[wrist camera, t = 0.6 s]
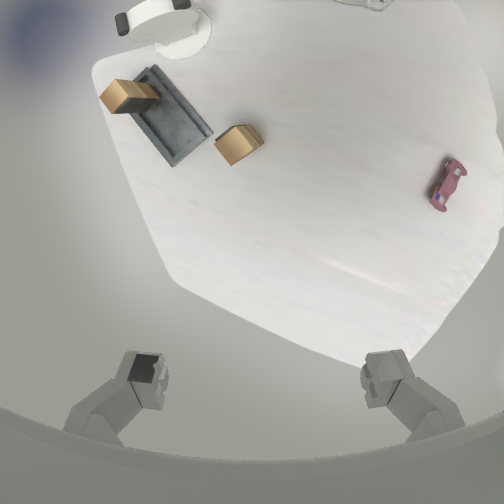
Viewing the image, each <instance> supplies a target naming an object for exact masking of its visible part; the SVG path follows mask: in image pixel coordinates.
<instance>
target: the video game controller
mask: <svg viewBox="0 0 504 504" xmlns="http://www.w3.org/2000/svg"><path fill="white" fill-rule="evenodd" d="M446 166H447V171H446V174H445V175H444V177H443V180H444V181H443V184H441V183H440V184H439V186H436V187H435V189H436V191H434V193H433V195H432V198H431V200H430V203H431V204H432V205H433V206H434V207H435V208H436V209H438V210H440V211H442V212H446V211H447V209H446V207H445V205H444V204H445V203H446V202H447V200H448V198H449V197H450V195H451V194H452V193H453V192H454V191H455V190H456V187H457V183H458V180H459V178H460V176H461V175H463V176H466V175H467V171H466V170H465V168H464V167H463V166H462V165H461V164H460V163H459V162H458V161H456V160H455V159H453V161H452V162H450V163H449V164H448V162H447V163H446V165H445V168H446Z"/></svg>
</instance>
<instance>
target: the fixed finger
mask: <svg viewBox="0 0 504 504" xmlns="http://www.w3.org/2000/svg"><path fill="white" fill-rule="evenodd" d="M99 98H100V99H101V100H102V102H103V103H104V104H105V106H106V107H107V108H108V110H109V111H110V112H111V114H123V113H147V112H148V111H149V110H150V109H151V108H152V107H153V106H154V105H155V104H156V103H158V102H159V101H160V100H161V99H162V97H161V96H160V95H159V94H158V93H157V91H156V90H155V89H154V88H153V87H152V85H151V84H148V83H142V82H135V81H128V80H120V79H114V81H113V82H112V83H111V84H110V85H109V86H108V87H107V88H106V90H105V91H104V92H103V93H102V94H101V95H100V97H99Z"/></svg>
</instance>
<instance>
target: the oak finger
mask: <svg viewBox="0 0 504 504" xmlns="http://www.w3.org/2000/svg"><path fill="white" fill-rule="evenodd" d="M215 141H216V142H215V143H214V145H215V147H216V148H217V149H218V150H219V152H220V153H221V154H222V155H223V157H224V158H225V159H226V160H227V162H228V163H229V164H230V166H232V165H233V164H235V163H237V162H238V161H240V160H241V159H243V158H244V157H246V156H247V155H249V154H250V153H251V152H253V151H254V150H255V149H257V148H258V147H259V146H261V145H262V144H263V143H264V142H263V141H262V140H261V138H260V137H259V136H258V135H257V133H256V132H255V131H254V129H253V128H252V127H251V126H250V125H238V126H232V127H230V128H229V129H228V130H227V131H225V132H224V133H223V134H222V135H220V136H219V137H218V138H217V139H215Z"/></svg>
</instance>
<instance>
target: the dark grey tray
mask: <svg viewBox="0 0 504 504" xmlns="http://www.w3.org/2000/svg"><path fill="white" fill-rule="evenodd" d="M133 81H135V82H142V83H148V84H151V85H152V87H153V88H154V89H155V90H156V91H157V93H158V94H159V95H160V96H161V97H162V99H161V100H160V101H159V102H158V103H156V104H155V105H154V106H153V107H152V108H151V109H150V110H149V111H148V112H147V113H129V114H130V115H131V116H132V118H133V119H134V120H135V122H136V123H137V124H138V125H139V127H140V128H141V129H142V130H143V132H144V133H145V134H146V135H147V137H148V138H149V139H150V140H151V142H152V143H153V144H154V146H155V147H156V148H157V149H158V151H159V152H160V153H161V154H162V156H163V157H164V158H165V159H166V161H167V162H168V163H169V164H170V166H171V167H174V166H176V165H177V164H178V163H179V162H180V161H181V160H182V159H183V158H185V157H186V156H187V155H188V154H189V153H190V152H191V151H193V150H194V149H195V148H196V147H197V146H198V145H200V144H201V143H202V142H203V141H204V140H206V139H207V138H208V137H209V136H210V135H212V134H213V132H212V131H211V129H210V128H209V127H208V126H207V124H206V123H205V122H204V121H203V120H202V118H201V117H200V116H199V115H198V113H197V112H196V111H195V110H194V109H193V107H192V106H191V105H190V104H189V103H188V101H187V100H186V99H185V98H184V97H183V95H182V94H181V93H180V92H179V91H178V90H177V88H176V87H175V86H174V85H173V84H172V82H171V81H170V80H169V79H168V78H167V77H166V75H165V74H164V73H163V72H162V71H161V70H160V68H159V67H158V66H157V65H155V64H154V65H153V66H152V67H151V68H148V67H146V68H145V69H144V70H143V71H142V72H141V73H140V74H139V75H138V76H137V77H136V78H135V79H134V80H133Z"/></svg>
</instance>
